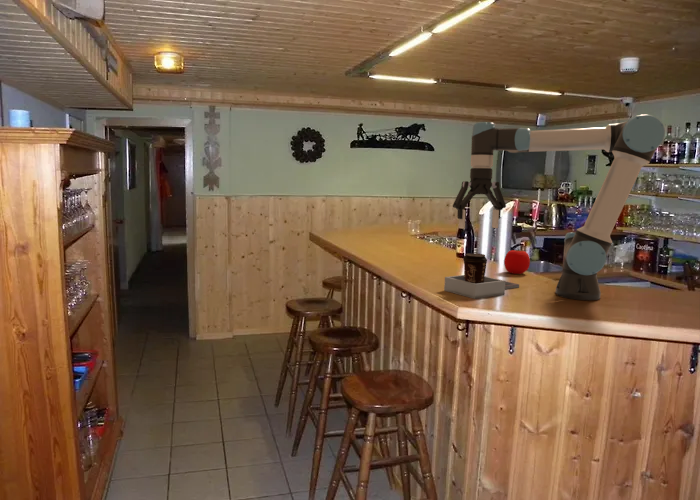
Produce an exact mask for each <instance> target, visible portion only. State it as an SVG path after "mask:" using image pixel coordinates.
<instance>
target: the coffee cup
mask: <svg viewBox="0 0 700 500" xmlns="http://www.w3.org/2000/svg"><path fill="white" fill-rule="evenodd" d="M462 261H463V266H464V267H463V271H464V273H463V275H464V278H465V281H466V282H471V283H475V284H477V283H484V278H485V276H486V271H487V263H488V259H487V258H486V254H483V253H474V252H473V253H469V252H468V253H465V256H463V260H462Z"/></svg>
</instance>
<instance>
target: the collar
mask: <svg viewBox="0 0 700 500" xmlns="http://www.w3.org/2000/svg"><path fill="white" fill-rule="evenodd" d="M504 281H505V290H510V289H511V290H512V289H517V288H520V284H519V283H514V282H511V281H510V282H509V281H506V280H504Z"/></svg>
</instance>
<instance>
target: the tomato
mask: <svg viewBox="0 0 700 500" xmlns="http://www.w3.org/2000/svg"><path fill="white" fill-rule="evenodd" d="M503 261H504V262H503V263H504V267H505V270H506V271H507V272H508V273H509V274H512V275H513V274H514V275H521V274H524V273H525V272H527V271H528V270H529V268H530V264H531V258H530V255H529V253H528V252H527V251H524V250H521V249H519V248H518V249H512V250H508V251H507V253H506V255H505V256H504V260H503Z"/></svg>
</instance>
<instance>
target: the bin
mask: <svg viewBox="0 0 700 500" xmlns="http://www.w3.org/2000/svg"><path fill="white" fill-rule="evenodd" d="M505 281H506V280H503V279H498V278H494V277H489V276H486V275H485V278H484V283H477V284H475V283H471V282H466V281H465V278H464V274H460V275H452V276H445V277H444V285H443V286H444V288H443V290H444V292H449V293H453V294H456V295H459V296H463V297H465V298H466V297H467V298H470V299H474V300H475V299H476V300H477V299H482V298H490V297H496V296H504V295H505V292H506V291H505V290H506V289H505Z"/></svg>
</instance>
